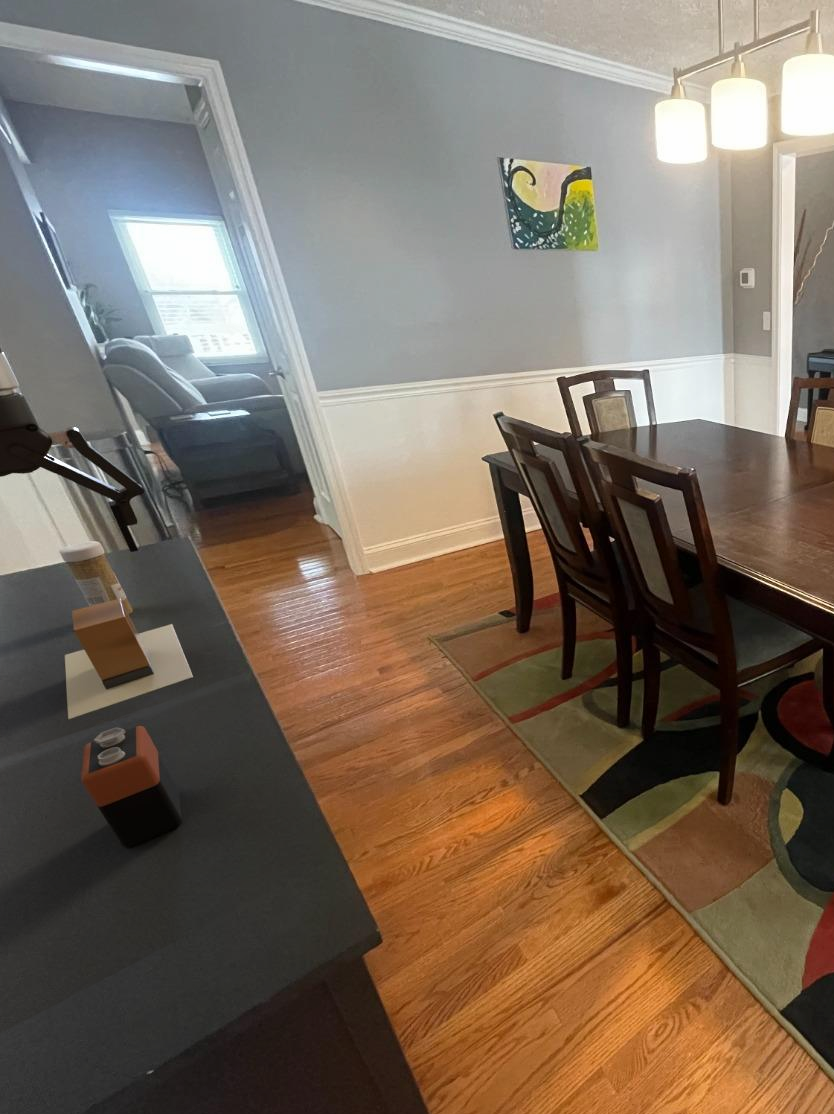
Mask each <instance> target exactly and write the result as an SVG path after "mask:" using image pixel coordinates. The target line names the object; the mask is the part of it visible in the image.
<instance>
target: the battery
mask: <svg viewBox="0 0 834 1114" xmlns="http://www.w3.org/2000/svg"><path fill="white" fill-rule="evenodd" d="M80 780H81V783H82V785H83V787H84V788H85V789H86V791H87V793H88V794H89V795H90V797H91V798H92V800H93V802H94V803H95V805H96V806H97V808H98V810H99V812H100V813H101V815H102V816H103V818H104V819H105V821H106V822H107V824H108V825H109V827H110V829H111V830H112V832H113V833H114V835H115V836H116V838H117V840H118V841H119V843H120V845H121V846H122V847H123V848H125V849H129V848H131V847H132V848H133V847H134V846H136V845H139V844H142V843H144V842H145V841H149V840H150V839H153V838H154V837H157V836H160V835H162V834H164V833H166V832H169V831H170V830H173V829H176V828H178V827H180V826H181V825H182V810H181V809H182V808H181V798H180V791H179V788H178V786H177V784H176V782H175V780H174V778H173V776H172V775H171V773H170V771H169V769H168V768H167V766H166V764H165V762H164V760H163V758H162V756H161V755H160V753H159V751H158V749H157V748H156V746H155V744H154V743H153V740H152V738H151V737H150V735H149V733H148V731H147V729H146V728H145V727H144V726H142V725H138V726H135V727H131V728H129V729H126V730H125V729H124V728H121V727H113V728H111V729H108V730H105V731H101V733H99V734H98V735H97V736H96V737H95V738H94V739H93V741H91V742H89V743H86V745H84V748H83V756H82V766H81V775H80Z"/></svg>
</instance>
